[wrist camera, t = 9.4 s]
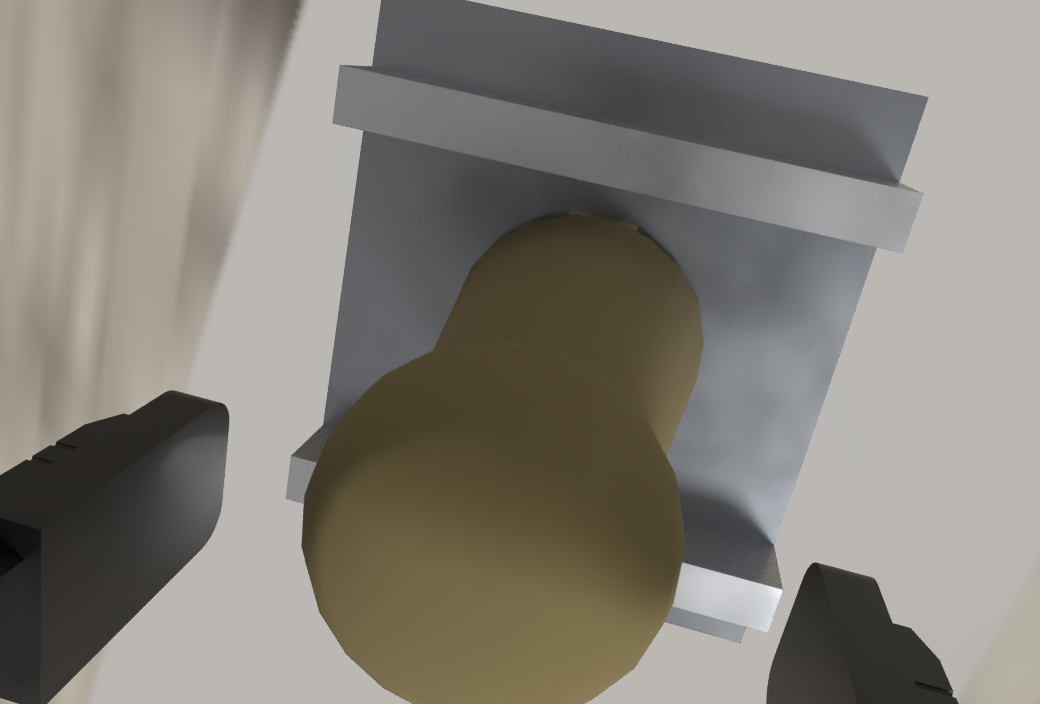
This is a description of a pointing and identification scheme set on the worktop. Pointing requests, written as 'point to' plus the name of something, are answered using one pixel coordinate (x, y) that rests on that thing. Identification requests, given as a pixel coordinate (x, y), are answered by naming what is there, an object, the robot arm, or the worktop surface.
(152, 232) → the worktop surface
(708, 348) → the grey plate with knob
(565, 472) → the cork
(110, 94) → the worktop surface
